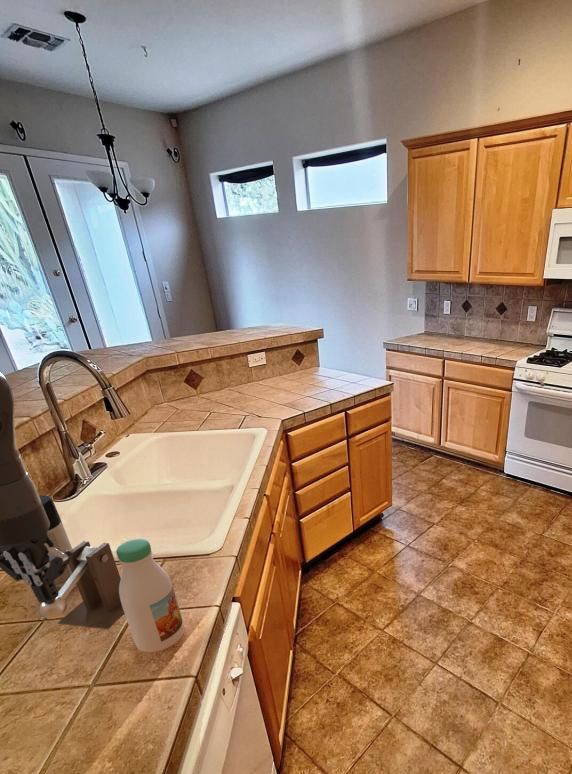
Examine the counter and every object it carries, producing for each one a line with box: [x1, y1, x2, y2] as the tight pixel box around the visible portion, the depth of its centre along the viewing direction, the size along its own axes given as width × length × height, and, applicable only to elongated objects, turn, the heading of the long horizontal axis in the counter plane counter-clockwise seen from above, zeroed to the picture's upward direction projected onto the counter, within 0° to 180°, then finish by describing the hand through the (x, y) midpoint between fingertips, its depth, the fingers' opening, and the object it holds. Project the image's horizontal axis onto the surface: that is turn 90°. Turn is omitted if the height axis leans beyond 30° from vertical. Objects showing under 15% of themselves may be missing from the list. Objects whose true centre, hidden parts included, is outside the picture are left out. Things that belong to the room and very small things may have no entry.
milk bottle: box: [115, 538, 185, 653], centre depth 72 cm, size 8×8×20 cm
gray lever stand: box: [57, 540, 125, 630], centre depth 80 cm, size 12×10×14 cm
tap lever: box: [38, 546, 98, 620], centre depth 74 cm, size 13×4×4 cm, turn 173°
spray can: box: [38, 494, 78, 592], centre depth 83 cm, size 7×7×20 cm
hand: (49, 599), depth 70 cm, fingers closed
